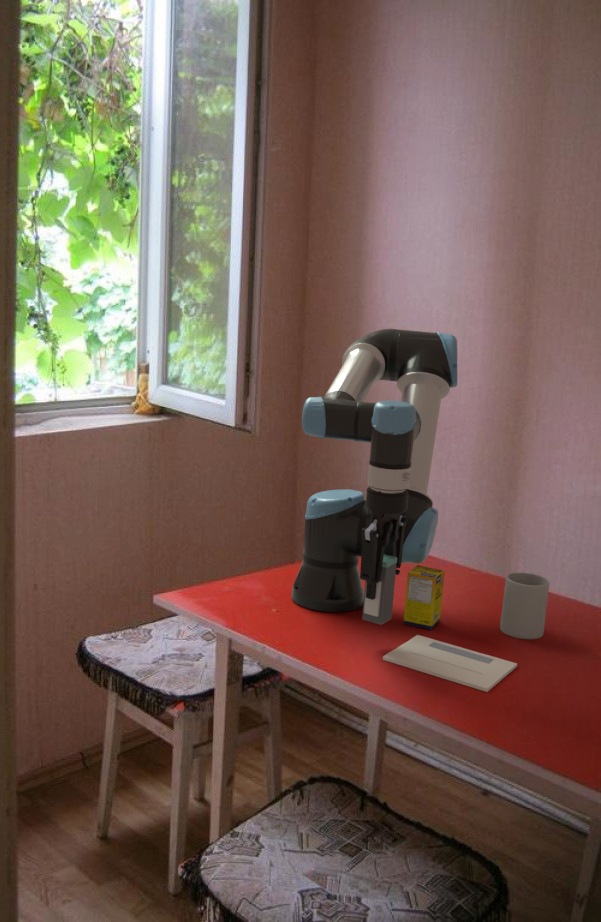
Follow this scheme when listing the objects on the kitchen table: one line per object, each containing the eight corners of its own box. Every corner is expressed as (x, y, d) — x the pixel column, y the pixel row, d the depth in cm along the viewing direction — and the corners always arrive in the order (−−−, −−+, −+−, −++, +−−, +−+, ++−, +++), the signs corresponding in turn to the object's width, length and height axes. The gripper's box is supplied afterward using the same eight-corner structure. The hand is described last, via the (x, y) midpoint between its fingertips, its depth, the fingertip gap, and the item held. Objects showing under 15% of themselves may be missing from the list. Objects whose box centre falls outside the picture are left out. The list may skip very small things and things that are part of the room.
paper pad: (382, 659, 171) (382, 656, 171) (417, 637, 183) (417, 634, 183) (487, 692, 161) (487, 688, 161) (516, 666, 172) (517, 663, 172)
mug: (551, 639, 187) (557, 585, 185) (511, 640, 185) (517, 586, 183) (523, 617, 198) (529, 566, 196) (485, 618, 196) (491, 566, 194)
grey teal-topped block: (361, 619, 176) (366, 557, 173) (372, 613, 179) (377, 552, 176) (381, 625, 173) (386, 562, 171) (391, 618, 177) (397, 557, 174)
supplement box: (440, 621, 192) (445, 569, 190) (431, 630, 187) (436, 577, 185) (412, 615, 195) (417, 564, 193) (402, 624, 189) (407, 571, 187)
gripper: (383, 501, 162) (372, 629, 167) (427, 483, 176) (416, 603, 181) (345, 492, 166) (336, 618, 171) (391, 476, 180) (381, 593, 185)
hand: (377, 610), depth 176 cm, fingers closed on grey teal-topped block, 4 cm apart
